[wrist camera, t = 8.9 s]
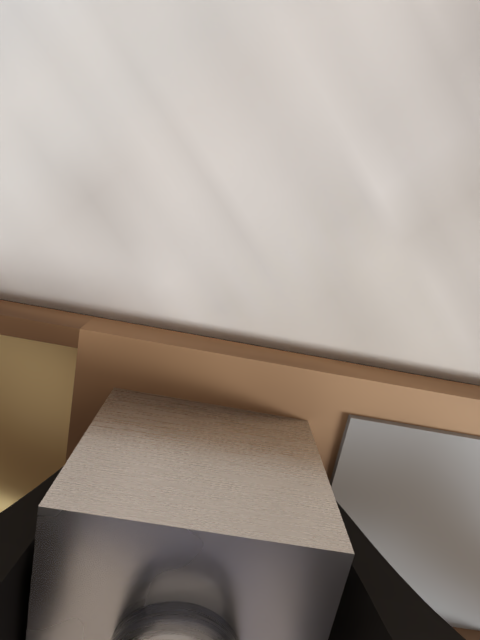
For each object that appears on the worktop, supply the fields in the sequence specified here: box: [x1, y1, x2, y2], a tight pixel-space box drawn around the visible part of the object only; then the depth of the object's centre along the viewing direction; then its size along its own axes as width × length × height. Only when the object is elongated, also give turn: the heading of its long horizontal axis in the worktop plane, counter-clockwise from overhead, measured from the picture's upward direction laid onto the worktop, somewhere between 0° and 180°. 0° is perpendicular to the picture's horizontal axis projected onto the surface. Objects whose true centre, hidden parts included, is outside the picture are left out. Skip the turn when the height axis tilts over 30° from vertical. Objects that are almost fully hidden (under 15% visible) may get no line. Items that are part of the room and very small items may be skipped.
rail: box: [0, 300, 480, 640], centre depth 11 cm, size 8×24×3 cm, turn 79°
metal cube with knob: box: [26, 388, 355, 640], centre depth 9 cm, size 5×5×6 cm
